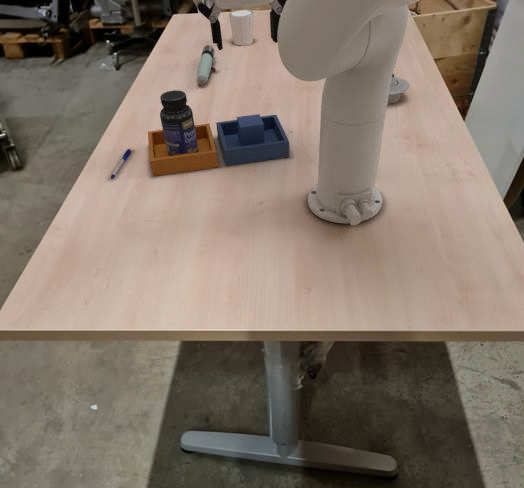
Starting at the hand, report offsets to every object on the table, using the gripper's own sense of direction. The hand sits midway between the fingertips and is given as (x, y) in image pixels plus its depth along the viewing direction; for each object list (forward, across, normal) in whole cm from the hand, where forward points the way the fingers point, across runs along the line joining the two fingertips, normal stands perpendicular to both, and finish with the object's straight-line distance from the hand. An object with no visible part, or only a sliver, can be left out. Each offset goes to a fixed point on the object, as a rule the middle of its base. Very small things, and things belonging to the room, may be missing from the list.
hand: (247, 43), depth 83 cm
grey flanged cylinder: (+19, +33, +15) cm, 40 cm away
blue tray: (+18, 0, +1) cm, 19 cm away
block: (+18, 0, +1) cm, 18 cm away
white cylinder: (+18, +8, +62) cm, 65 cm away
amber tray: (+18, -14, +1) cm, 23 cm away
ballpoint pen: (+19, -27, +1) cm, 33 cm away
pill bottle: (+18, -14, +1) cm, 23 cm away
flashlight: (+18, -5, +43) cm, 47 cm away
